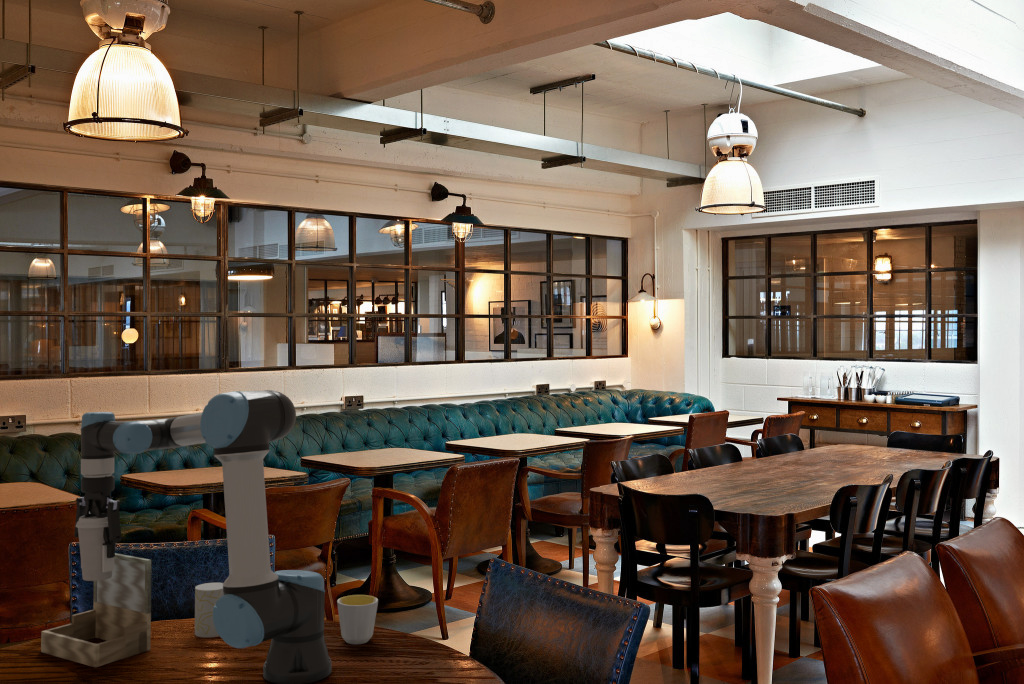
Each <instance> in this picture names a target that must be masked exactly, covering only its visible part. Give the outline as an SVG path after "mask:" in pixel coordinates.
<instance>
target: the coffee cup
mask: <svg viewBox="0 0 1024 684" xmlns="http://www.w3.org/2000/svg"><path fill="white" fill-rule="evenodd" d="M76 527H77V528H78V534H79V538H78V540H79V541H78V543H79V553H80V567H81V566H82V568H81V573H82V574H81V575H82V580H83V581H86V582H94V581H99V580H105V579H109V578H111V577H112V571H108V572H102V544H103V543H105V541H104V537H103V530H104V527H108V517H105V518H97V517H96V516H94V517H85V516H81V517H80V518H79V521H78V522H77V524H76Z"/></svg>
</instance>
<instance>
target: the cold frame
mask: <svg viewBox="0 0 1024 684" xmlns="http://www.w3.org/2000/svg"><path fill="white" fill-rule="evenodd" d="M92 603H93V605H92V606H93V609H90V610H87V611H83V612H79V613H75V614H71V623H67V624H63V625H60V626H57V627H53V628H49V629H45V630H42V631H40V633H41V635H40V637H41V639H40V640H41V641H40V643H41V645H40V650H41V651H40V652H41V653H43V654H47V655H51V656H53V657H57V658H61V659H64V660H68V661H72V662H75V663H79V664H83V665H86V666H88V667H93V668H98V667H101V666H104V665H107V664H111V663H113V662H114V663H115V662H117V661H120V660H123V659H126V658H129V657H133V656H135V655H139V654H142V653H144V652H148V651H151V639H152V635H151V634H152V631H151V629H152V628H151V626H152V625H151V623H152V622H151V620H152V559H148V558H143V557H137V556H133V555H128V554H127V555H126V554H122V553H116V552H115V557H114V570H113V571H112V577H111V578H109V579H105V580H99V581H93V602H92ZM99 638H100V640H103V641H102V642H99V643H94V642H92V641H91V642H90V641H89V640H93V639H99ZM141 652H142V653H141Z"/></svg>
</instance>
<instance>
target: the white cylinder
mask: <svg viewBox="0 0 1024 684" xmlns="http://www.w3.org/2000/svg"><path fill="white" fill-rule="evenodd" d="M223 583H224V582H207V583H206V582H205V583H201V584H198V585H195V586H194V587H195V588H194V636H196V637H198V638H216V637H220V636H219V634H218V633H217V631H216V629H215V626H214V622H213V608H214V605H216V601H217V600H218V599H219V598H221V597H222V596H223Z"/></svg>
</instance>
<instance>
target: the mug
mask: <svg viewBox="0 0 1024 684" xmlns="http://www.w3.org/2000/svg"><path fill="white" fill-rule="evenodd" d="M336 604H337V610H338V611H337V612H338V619H339V627H340V634H341V637H342V639H343V640H344V641H345V642H346V643H347V644H348V645H349V644H350V645H362V644H363V645H364V644H366V643H368V642H369V641H370V639H371V638H372V637H374V635H373V634H374V628H375V623H376V617H377V611H378V606H379V605H378V604H379V599H378V598H377V597H375V596H373V595H366V594H352V595H351V594H350V595H347V596H343V597H340V598H338V599H337V600H336Z"/></svg>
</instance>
